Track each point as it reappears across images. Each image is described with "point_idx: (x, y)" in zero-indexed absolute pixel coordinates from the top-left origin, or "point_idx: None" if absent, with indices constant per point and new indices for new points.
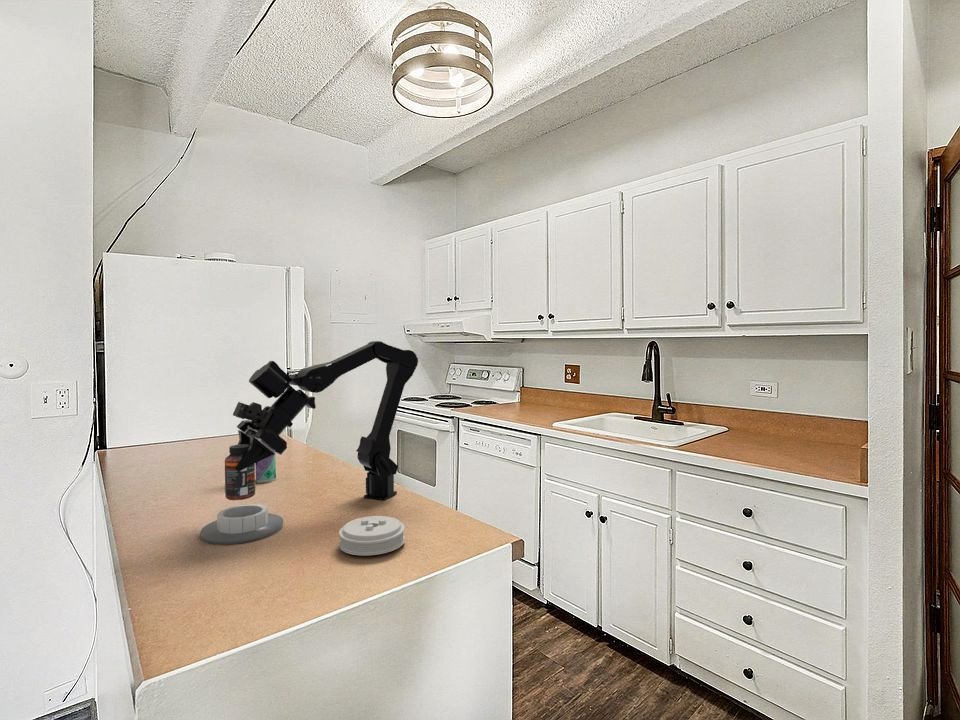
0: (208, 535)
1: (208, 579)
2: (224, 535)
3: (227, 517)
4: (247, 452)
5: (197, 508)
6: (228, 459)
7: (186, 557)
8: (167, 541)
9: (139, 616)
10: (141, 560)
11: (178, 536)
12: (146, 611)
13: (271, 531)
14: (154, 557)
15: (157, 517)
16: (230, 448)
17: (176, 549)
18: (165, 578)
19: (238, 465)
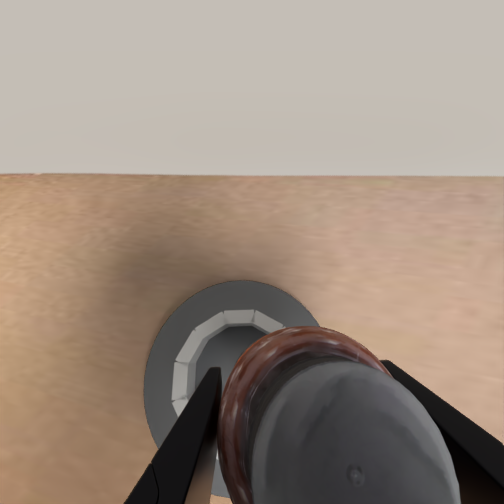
0: (221, 291)
1: (35, 262)
2: (197, 319)
3: (212, 328)
4: (131, 496)
5: (472, 309)
6: (273, 338)
7: (161, 248)
8: (268, 232)
9: (4, 179)
10: (201, 194)
11: (285, 250)
12: (10, 186)
13: (151, 430)
14: (200, 209)
15: (433, 232)
16: (317, 363)
17: (214, 239)
18: (98, 213)
19: (199, 385)
